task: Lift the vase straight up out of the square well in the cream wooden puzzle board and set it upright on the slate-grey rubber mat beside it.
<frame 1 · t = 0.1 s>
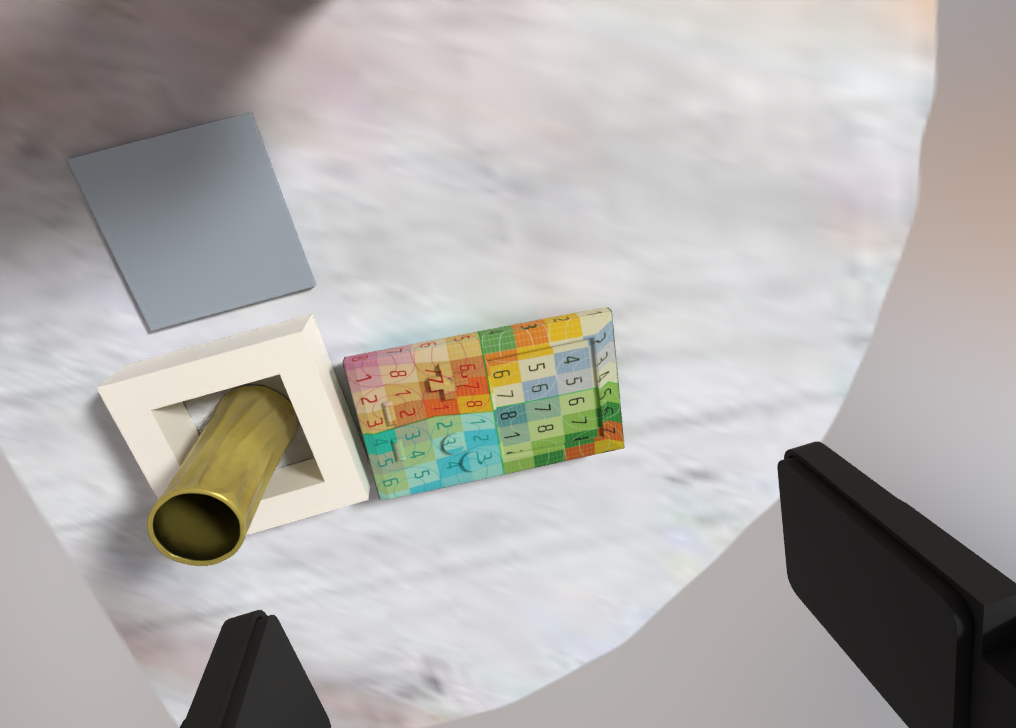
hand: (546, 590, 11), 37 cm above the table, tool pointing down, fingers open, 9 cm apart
mat: (200, 225, 42), on the table
puzzle game: (486, 388, 50), on the table
well board: (256, 420, 47), on the table
vase: (257, 419, 48), resting in well board
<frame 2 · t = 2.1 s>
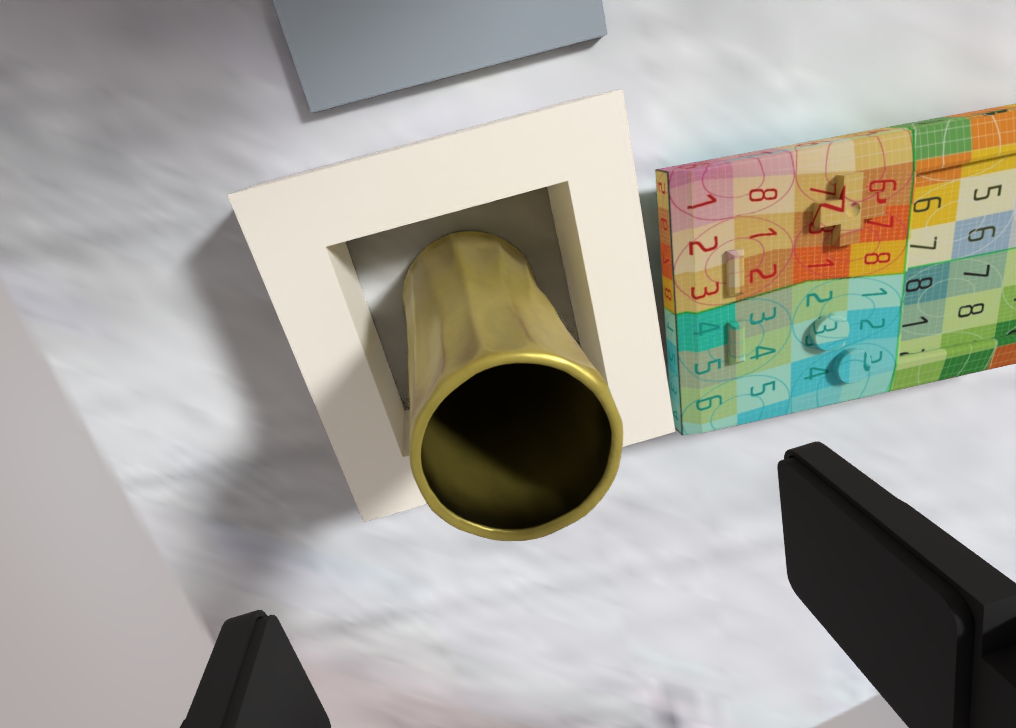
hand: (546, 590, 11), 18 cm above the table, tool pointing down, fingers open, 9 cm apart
puzzle game: (837, 253, 30), on the table
well board: (470, 297, 28), on the table
vase: (469, 296, 28), resting in well board
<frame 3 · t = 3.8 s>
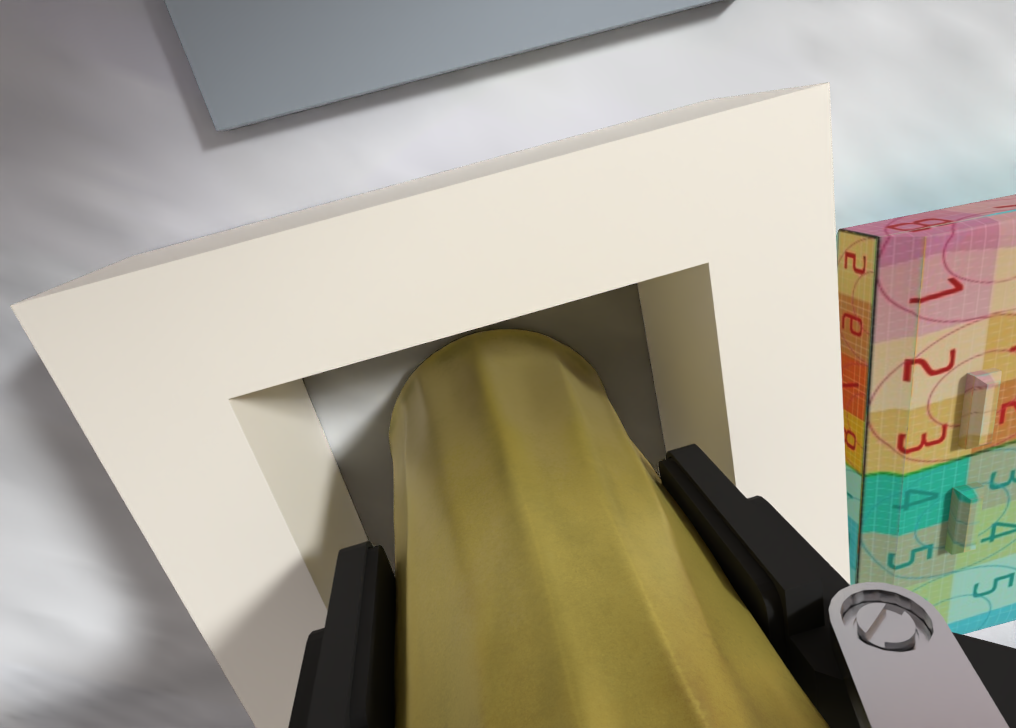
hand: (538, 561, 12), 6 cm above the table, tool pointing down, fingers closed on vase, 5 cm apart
well board: (500, 431, 17), on the table
vase: (500, 428, 17), resting in well board, touching gripper
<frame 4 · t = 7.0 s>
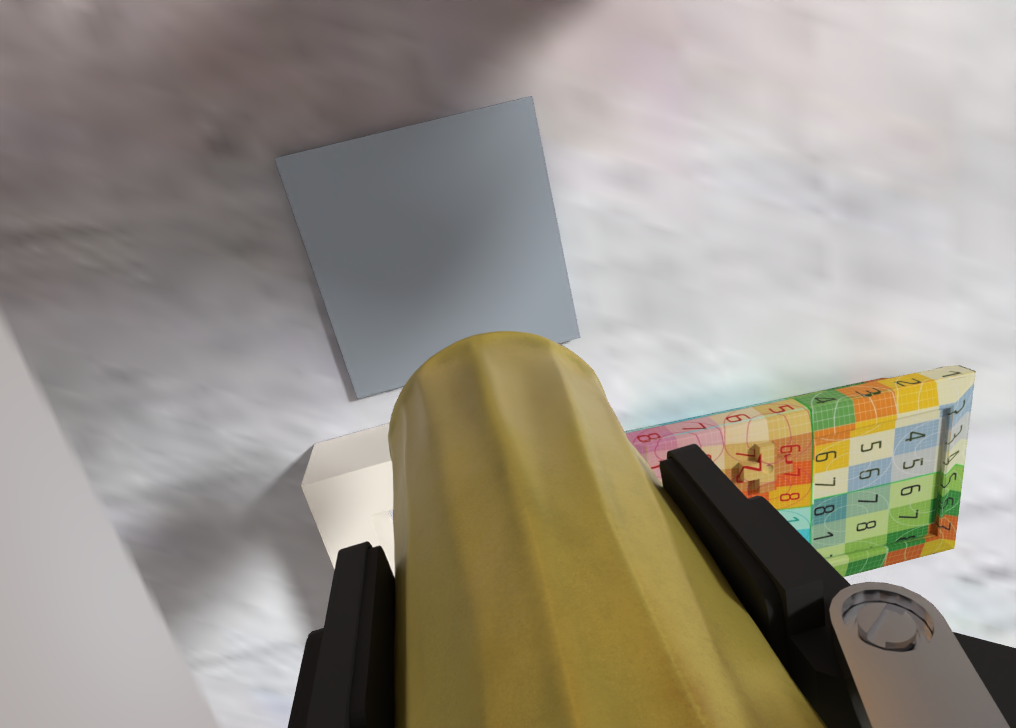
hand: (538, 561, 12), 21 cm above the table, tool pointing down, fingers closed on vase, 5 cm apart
mat: (439, 253, 30), on the table
puzzle game: (766, 468, 38), on the table
well board: (474, 515, 35), on the table
vase: (499, 430, 17), point 15 cm above the table, touching gripper
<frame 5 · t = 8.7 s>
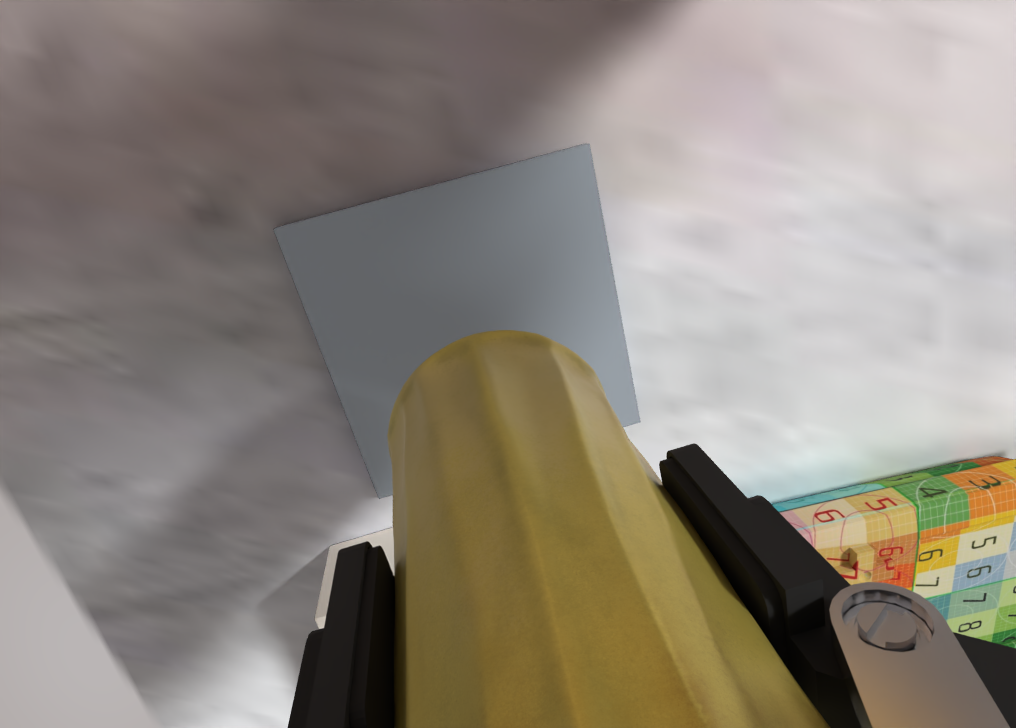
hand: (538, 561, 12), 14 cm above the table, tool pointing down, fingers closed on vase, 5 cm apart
mat: (474, 331, 25), on the table
puzzle game: (848, 550, 33), on the table
well board: (513, 615, 30), on the table
vase: (499, 430, 17), point 9 cm above the table, touching gripper
when the fingers open (8 cm above the table, at t = 10.3 s): vase drops 2 cm, resting on mat.
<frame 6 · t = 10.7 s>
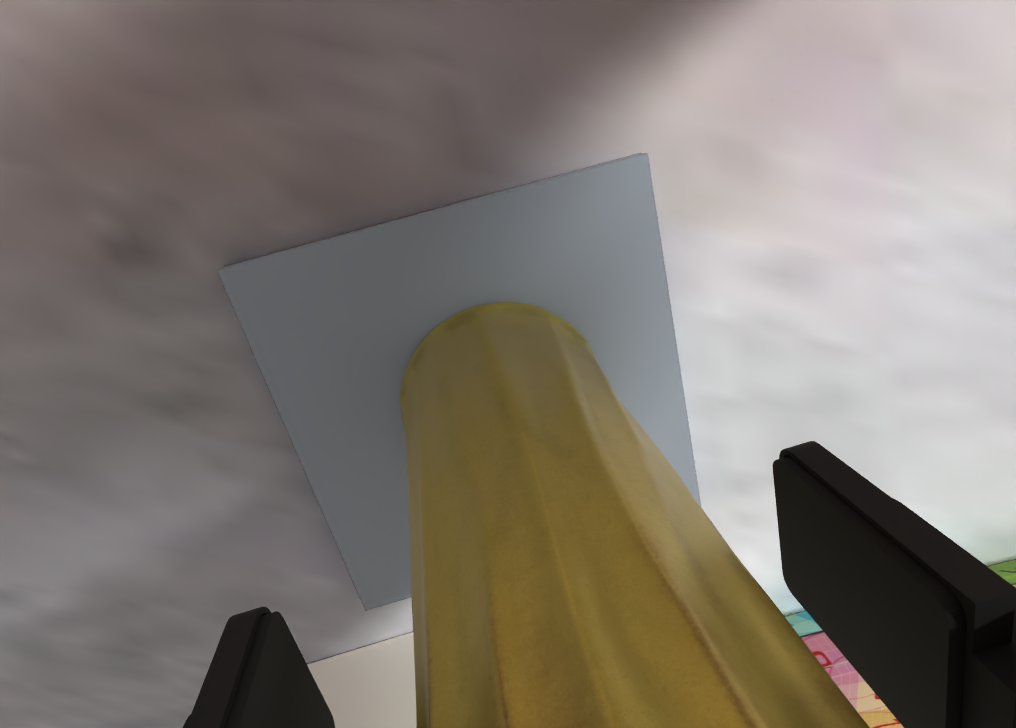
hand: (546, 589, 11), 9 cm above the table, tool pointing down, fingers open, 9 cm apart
mat: (489, 398, 19), on the table
puzzle game: (942, 646, 27), on the table
vase: (500, 395, 19), resting on mat
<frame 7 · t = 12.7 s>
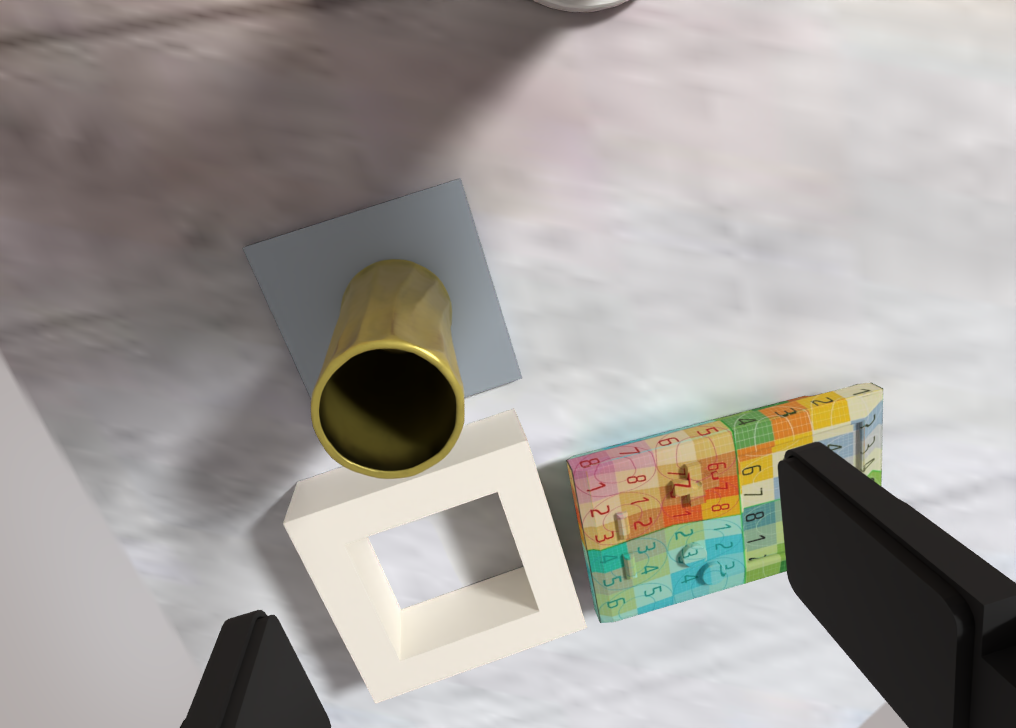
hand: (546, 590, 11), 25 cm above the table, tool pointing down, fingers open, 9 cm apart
mat: (392, 315, 35), on the table
puzzle game: (708, 478, 42), on the table
well board: (442, 535, 40), on the table
vase: (397, 312, 34), resting on mat
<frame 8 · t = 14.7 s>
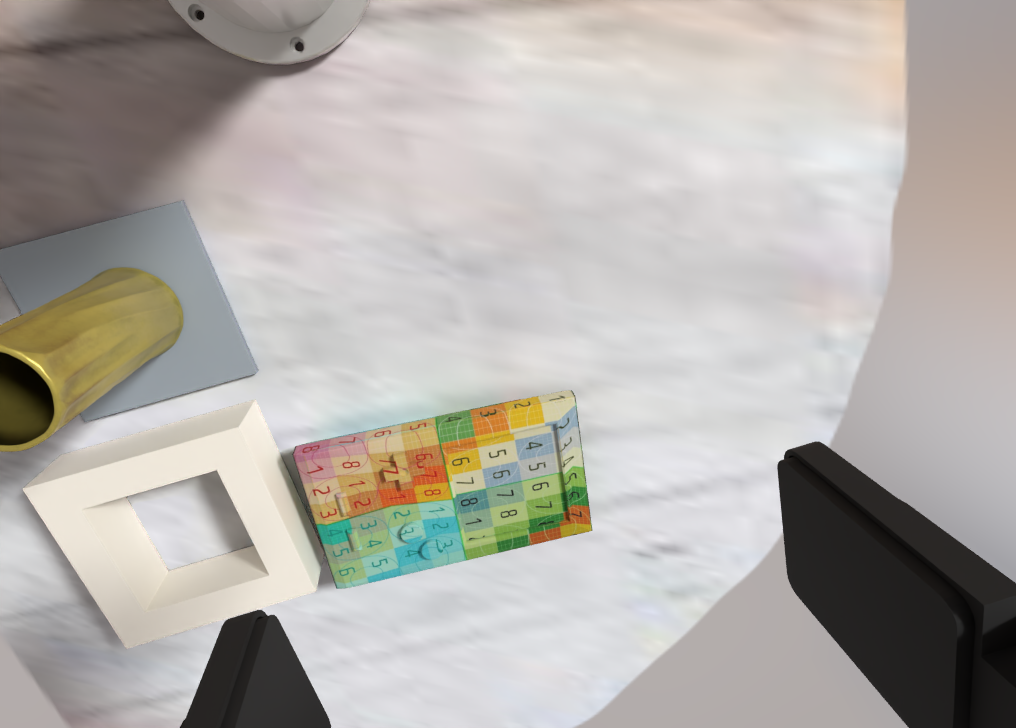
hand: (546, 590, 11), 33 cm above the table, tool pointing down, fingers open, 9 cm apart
mat: (134, 314, 40), on the table
puzzle game: (449, 468, 48), on the table
well board: (201, 506, 45), on the table
vase: (135, 312, 40), resting on mat
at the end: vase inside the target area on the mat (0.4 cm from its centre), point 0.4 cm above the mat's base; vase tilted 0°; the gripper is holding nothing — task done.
